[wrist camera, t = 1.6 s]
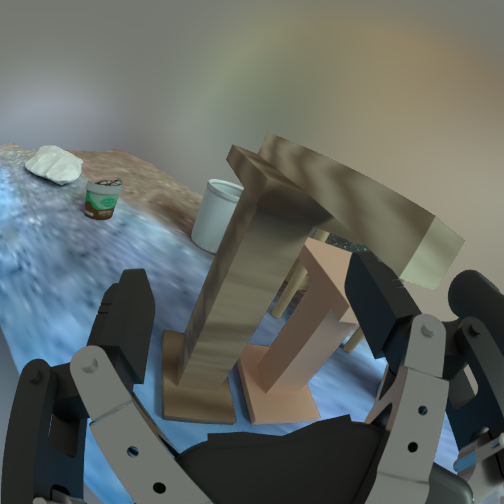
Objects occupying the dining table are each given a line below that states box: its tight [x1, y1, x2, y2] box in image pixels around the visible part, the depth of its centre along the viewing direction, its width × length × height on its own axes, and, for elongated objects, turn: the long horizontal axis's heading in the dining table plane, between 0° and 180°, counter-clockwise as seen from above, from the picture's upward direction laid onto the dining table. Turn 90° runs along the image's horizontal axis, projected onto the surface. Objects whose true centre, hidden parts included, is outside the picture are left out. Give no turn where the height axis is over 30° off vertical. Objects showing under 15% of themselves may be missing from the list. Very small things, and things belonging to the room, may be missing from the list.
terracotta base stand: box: [236, 237, 359, 425], centre depth 39 cm, size 16×12×24 cm
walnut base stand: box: [162, 145, 364, 425], centre depth 32 cm, size 16×10×32 cm, turn 13°
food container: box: [85, 177, 123, 220], centre depth 66 cm, size 12×6×10 cm, turn 160°
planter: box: [271, 227, 405, 353], centre depth 65 cm, size 22×22×32 cm
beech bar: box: [258, 133, 465, 290], centre depth 21 cm, size 26×3×3 cm, turn 13°
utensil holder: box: [191, 179, 244, 254], centre depth 79 cm, size 15×15×18 cm
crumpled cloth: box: [25, 146, 83, 185], centre depth 74 cm, size 24×35×9 cm
